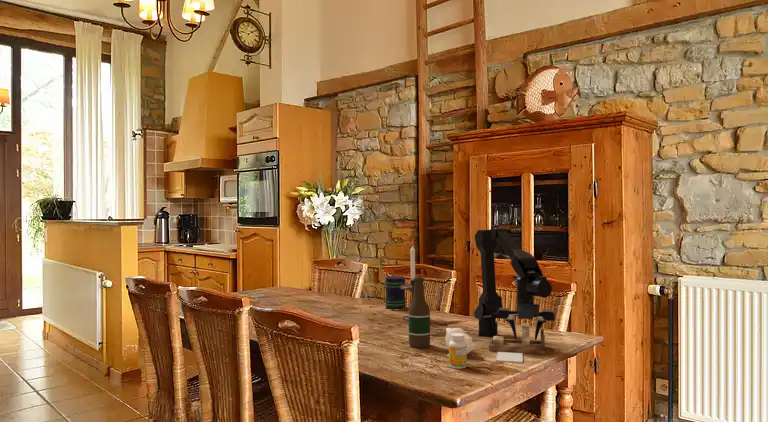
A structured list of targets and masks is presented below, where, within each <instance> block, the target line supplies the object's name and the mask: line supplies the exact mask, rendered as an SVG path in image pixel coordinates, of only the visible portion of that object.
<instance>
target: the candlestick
mask: <svg viewBox="0 0 768 422" xmlns="http://www.w3.org/2000/svg"><path fill="white" fill-rule="evenodd" d="M411 241H412V242H411V245H412V246H411V248H410V279H409V282H410V284H409V283H408V284H407V283H406V285H401V286H400V288H401V289H403V290H405V291H409V292H410V293H411V300H410V301H409V304H411V302H412V301H413V297H414V282H415V281H414V277H416V249H415V246H414V244H415V240H414V237H413V238H412V240H411ZM426 288H427V286H426V285H424V290H426ZM403 319H404V320H408V321H407V322H409V314H407V315H404V316H402V320H403ZM404 320H403V321H404Z"/></svg>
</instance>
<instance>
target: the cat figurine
mask: <svg viewBox="0 0 768 422" xmlns="http://www.w3.org/2000/svg"><path fill="white" fill-rule="evenodd" d="M445 332H446V334H445V337H444V344H445V346H446V348H447V349H448V350H449V342H450V341H452V339H451V334H453V333H462V334H464V341H465V342H466V344H467V355H468V354H469V353H471V351H472V350H473V348H475V347H476V346H477V343H473V337H472V336H470V335H469V334H467V332H466V331H465V330H464V329H462V328H460V327H454V328H450V327H446V329H445ZM446 357H448V358H449V353H448V354H447V355H446Z"/></svg>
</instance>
